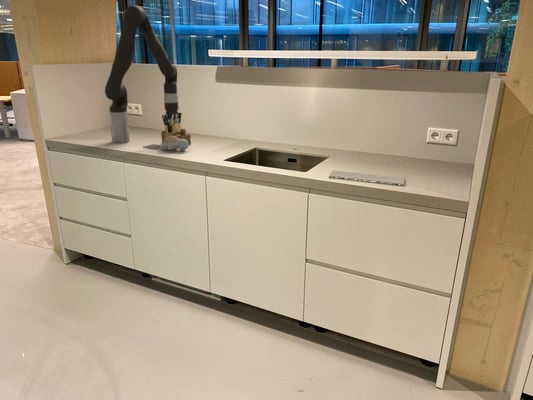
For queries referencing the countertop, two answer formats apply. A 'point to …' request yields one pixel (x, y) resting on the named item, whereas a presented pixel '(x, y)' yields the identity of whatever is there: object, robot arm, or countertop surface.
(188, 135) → the brown notched block
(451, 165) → the countertop surface
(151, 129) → the countertop surface
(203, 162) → the countertop surface
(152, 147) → the mat
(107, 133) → the countertop surface
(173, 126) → the olive yellow block
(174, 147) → the toy
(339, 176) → the flat grey slab
